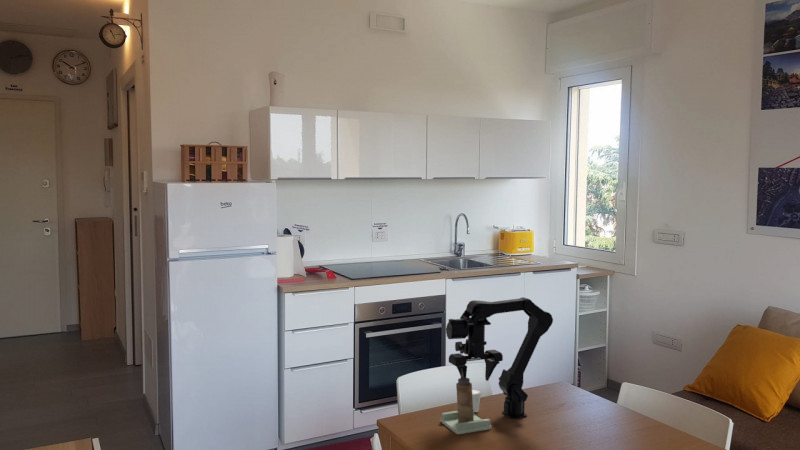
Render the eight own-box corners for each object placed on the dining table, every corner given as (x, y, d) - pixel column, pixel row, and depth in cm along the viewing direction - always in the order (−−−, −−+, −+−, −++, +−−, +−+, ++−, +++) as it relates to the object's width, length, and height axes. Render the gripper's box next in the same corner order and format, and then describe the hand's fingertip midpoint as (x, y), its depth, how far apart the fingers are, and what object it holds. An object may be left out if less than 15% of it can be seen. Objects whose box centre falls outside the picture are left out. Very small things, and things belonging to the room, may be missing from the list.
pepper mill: (465, 417, 211) (463, 376, 210) (476, 421, 207) (474, 378, 207) (455, 422, 208) (452, 379, 207) (466, 425, 204) (464, 382, 203)
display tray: (473, 416, 216) (473, 408, 215) (491, 428, 205) (491, 419, 204) (440, 421, 210) (440, 413, 210) (457, 434, 199) (457, 425, 199)
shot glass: (479, 414, 218) (480, 394, 218) (460, 412, 219) (460, 393, 219) (481, 407, 225) (481, 388, 224) (462, 406, 226) (462, 387, 226)
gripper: (487, 330, 223) (486, 372, 224) (441, 334, 216) (440, 378, 216) (504, 337, 213) (503, 381, 214) (456, 342, 205) (456, 387, 206)
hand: (475, 382), depth 213 cm, fingers open, 9 cm apart
